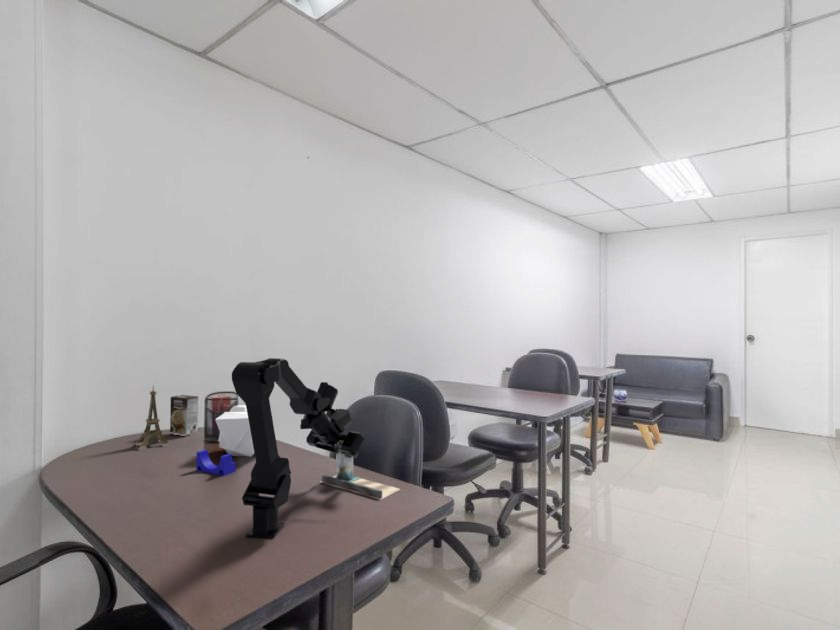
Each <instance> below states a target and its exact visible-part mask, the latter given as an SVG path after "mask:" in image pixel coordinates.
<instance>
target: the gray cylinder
mask: <svg viewBox="0 0 840 630" xmlns="http://www.w3.org/2000/svg"><path fill="white" fill-rule="evenodd" d="M341 445H342V443H339V442H338V443H337V445H336V453H335V456H336V457H335V461H336V465H335V466H336V468H335V469H336V470H335V473H336V474H335V476H336V478H338V479H341V480H345V481H349V480H352V479H353V476H354V457H351V456H348V455H345V454H342V452H343V451H342V450H341Z"/></svg>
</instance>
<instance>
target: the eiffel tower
mask: <svg viewBox="0 0 840 630" xmlns="http://www.w3.org/2000/svg"><path fill="white" fill-rule="evenodd" d="M154 387H155V386H152V390H151V391H149V395H150V402H149V410H148V416H147V418H146V419H145V422H146V425H145V429H144V430H143V433H142V435H141V436H140V437H139V438H138V439H137V440H136V443H140V442H142V444H141V445H140V446H139V448H140V447H147V446H148V443H149V440H150V439H151V438H157V440H158V439H159V440H160V441H161V444H162V443H163V444H167V443H169V441H168V440H167V439H166V437H165V436H164V435H163V434H162V430H161V428H160V424H159V422H160V419H159V418H158V411H157V401H156V395H157V390H155V388H154ZM152 425H154V428H155V429H151V428H152V427H151V426H152Z"/></svg>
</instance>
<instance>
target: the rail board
mask: <svg viewBox="0 0 840 630" xmlns="http://www.w3.org/2000/svg"><path fill="white" fill-rule="evenodd" d="M320 483H322V484H325V485H329V486H332V487H335V488H339V489H343V490H346V491H349V492H353V493H356V494H360V495H363V496H366V497H369V498H370V497H371V498H373V499H377V500H380V501H381V500H383V499H385V498H387V497H389V496H390V495H391V496H392V494H395V493H397V492H399V491H401V488H398V487H395V486H390V485H387V484H382V483H379V482H375V481H372V480H368V479H365V478H362V477H360V476H354V475H353V479H352V480H349V481H345V480H341V479H338V478H336V475H334V476H333V475H332V476H329V475H327V474H322V476H321V481H320Z"/></svg>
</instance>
